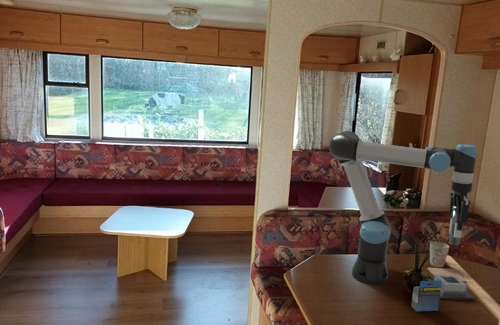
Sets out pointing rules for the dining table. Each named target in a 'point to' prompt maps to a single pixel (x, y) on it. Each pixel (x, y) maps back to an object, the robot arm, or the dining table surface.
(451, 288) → the chuck block
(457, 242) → the key peg
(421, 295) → the label tape cartridge
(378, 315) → the dining table surface
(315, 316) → the dining table surface
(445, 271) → the rubber mat
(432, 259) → the mug
